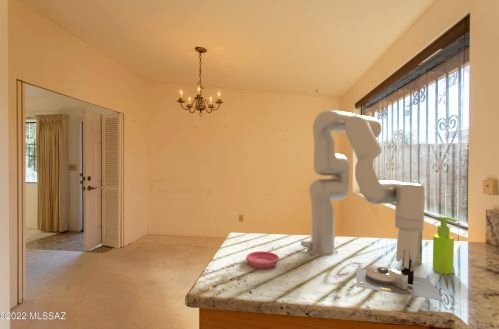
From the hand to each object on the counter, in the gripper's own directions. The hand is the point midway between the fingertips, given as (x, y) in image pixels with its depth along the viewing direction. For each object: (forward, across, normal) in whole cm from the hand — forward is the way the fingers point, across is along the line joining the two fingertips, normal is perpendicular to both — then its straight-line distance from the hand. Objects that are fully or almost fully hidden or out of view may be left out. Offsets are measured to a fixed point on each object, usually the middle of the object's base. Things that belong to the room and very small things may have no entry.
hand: (407, 282), depth 84 cm
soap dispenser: (+2, -21, +10) cm, 23 cm away
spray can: (+2, -24, 0) cm, 25 cm away
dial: (+1, 0, -6) cm, 6 cm away
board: (+2, 0, -4) cm, 4 cm away
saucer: (+3, +9, -47) cm, 48 cm away
